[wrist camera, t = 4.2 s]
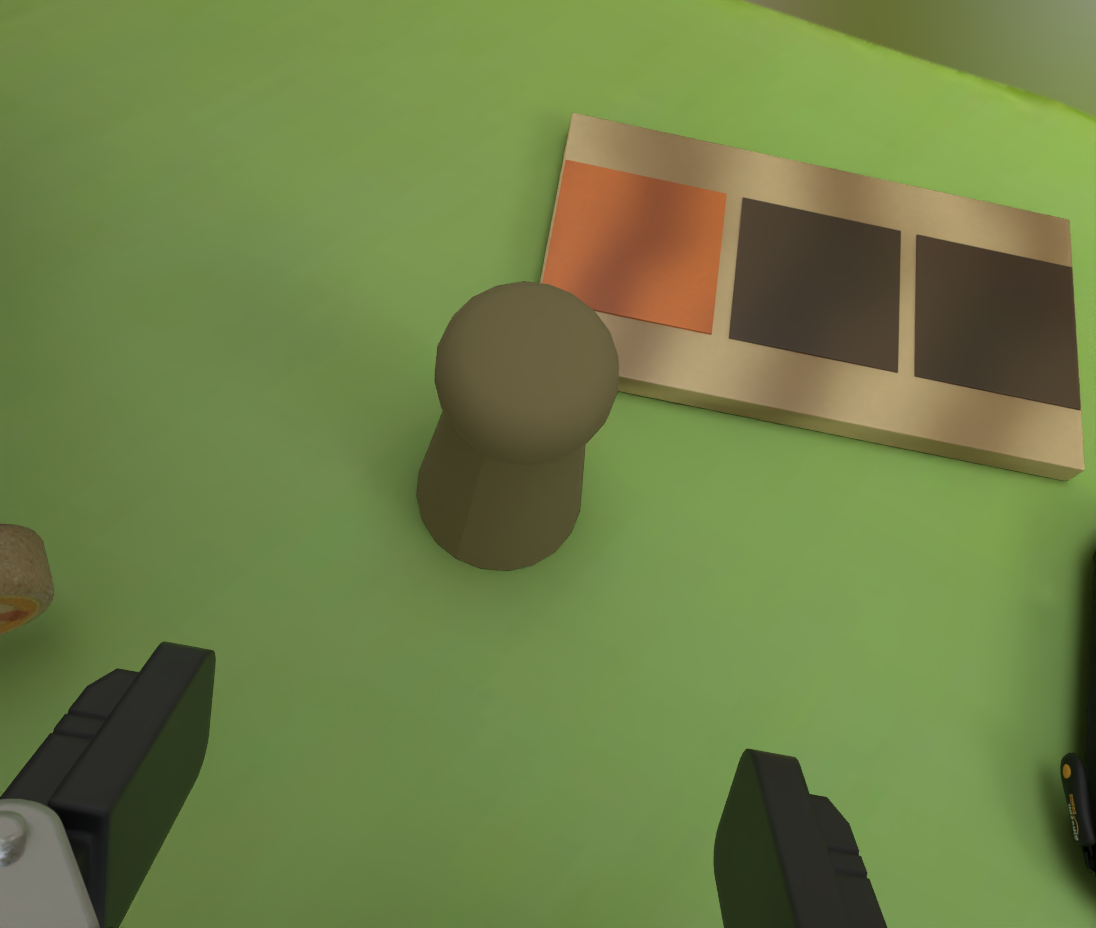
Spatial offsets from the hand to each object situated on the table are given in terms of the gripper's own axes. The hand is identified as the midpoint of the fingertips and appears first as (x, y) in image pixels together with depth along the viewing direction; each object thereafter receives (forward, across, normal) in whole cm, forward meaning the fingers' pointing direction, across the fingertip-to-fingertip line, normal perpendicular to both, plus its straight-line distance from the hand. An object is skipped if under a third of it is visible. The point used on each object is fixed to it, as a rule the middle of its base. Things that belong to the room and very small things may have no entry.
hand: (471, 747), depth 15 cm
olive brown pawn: (+22, 0, +5) cm, 22 cm away
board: (+30, -11, -3) cm, 32 cm away
